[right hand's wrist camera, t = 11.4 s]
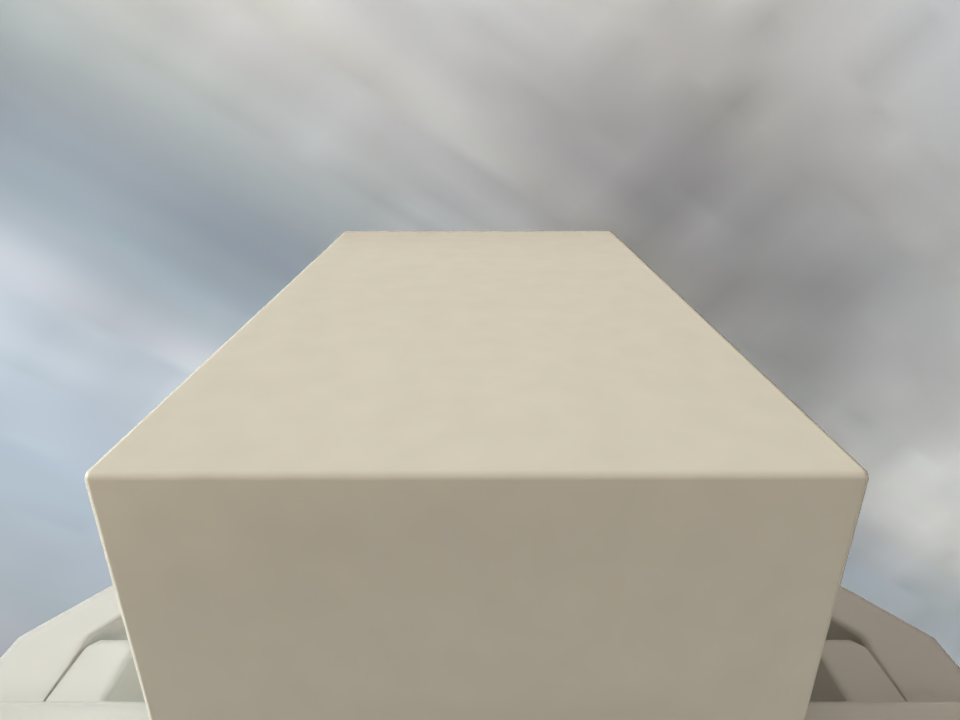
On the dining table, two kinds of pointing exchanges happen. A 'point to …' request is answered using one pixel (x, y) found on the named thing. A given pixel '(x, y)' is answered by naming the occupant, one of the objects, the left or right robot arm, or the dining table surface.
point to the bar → (477, 500)
